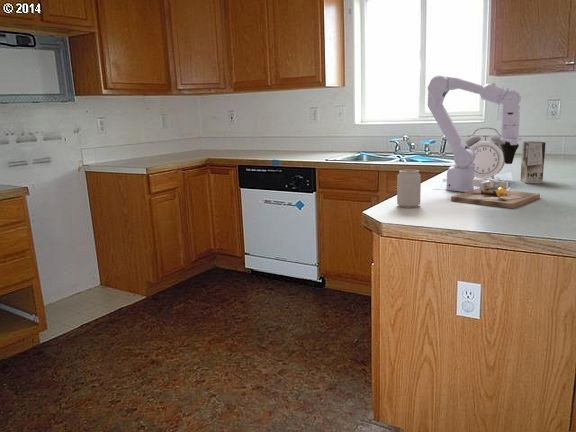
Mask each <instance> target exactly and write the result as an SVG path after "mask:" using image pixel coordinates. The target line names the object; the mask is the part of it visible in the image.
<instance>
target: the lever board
mask: <svg viewBox="0 0 576 432" xmlns="http://www.w3.org/2000/svg"><path fill="white" fill-rule="evenodd" d="M477 188H478V187H477ZM540 198H541V193H537V192H527V191H517V190H509V189H506V194H505V195H504V196H503V197H499V196H498V195H490V194H483V193H481V190H480V187H479V188H478V189H475V190H472V191H468V192H461V193H458V194H454V195H452V196H450V201H451V202H457V203H465V204H472V205H473V204H474V205H481V206H489V207H497V208H504V207H505V208H507V209H512V208H513V209H515V208H518V207H520V206H522V205H525V204H527V203H531V202H533V201H536V200H538V199H540Z"/></svg>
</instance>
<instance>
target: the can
mask: <svg viewBox="0 0 576 432" xmlns="http://www.w3.org/2000/svg"><path fill="white" fill-rule="evenodd" d="M419 172H420V170H417V169H400V170H399V173H398V174H397V176H396V177H397V179H396V180H397V181H396V182H397V183H396V185H397V189H396V194H397V195H396V205H398V206H399V207H400V208H403V209H404V208H405V209H413V208H418V207H419V206H420V205H421V191H422V190H421V186H422V185H421V180H422V179H421V177H422V174H420V173H419Z"/></svg>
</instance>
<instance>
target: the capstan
mask: <svg viewBox="0 0 576 432" xmlns="http://www.w3.org/2000/svg"><path fill="white" fill-rule="evenodd" d="M473 186H474V187H476V188H478V187H479V188H480V190H481V193H483V194H490V195H498V196H499V197H503V196H504V195H505V194H506V190H509V181H503V180H500V177H499V178H498V177H494V179H492V178H491V179H482V178H474V179H473Z"/></svg>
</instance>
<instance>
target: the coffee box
mask: <svg viewBox="0 0 576 432" xmlns="http://www.w3.org/2000/svg"><path fill="white" fill-rule="evenodd" d="M546 143H547V142H544V141H541V140H533V141H532V140H531V141H530V140H529V141H522V144H521V145H522V147H521V164H520V166H521V167H520V181H521V182H523V183H525V184H543V179H544V166H545V157H546Z"/></svg>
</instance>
